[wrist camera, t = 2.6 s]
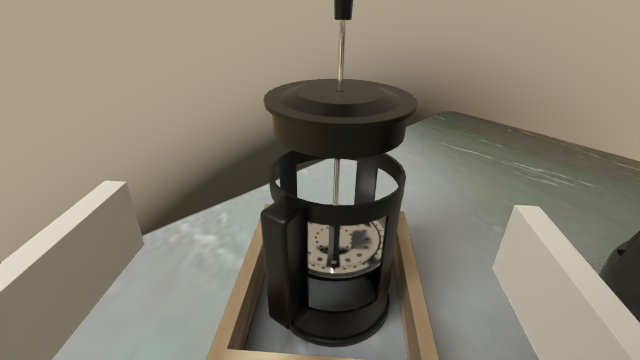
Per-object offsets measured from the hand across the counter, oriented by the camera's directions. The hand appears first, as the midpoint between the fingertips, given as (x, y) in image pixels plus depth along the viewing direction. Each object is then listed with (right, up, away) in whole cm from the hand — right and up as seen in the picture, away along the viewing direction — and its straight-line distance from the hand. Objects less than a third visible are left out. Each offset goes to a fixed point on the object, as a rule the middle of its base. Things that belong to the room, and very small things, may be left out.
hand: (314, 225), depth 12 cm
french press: (+1, -8, +17) cm, 19 cm away
